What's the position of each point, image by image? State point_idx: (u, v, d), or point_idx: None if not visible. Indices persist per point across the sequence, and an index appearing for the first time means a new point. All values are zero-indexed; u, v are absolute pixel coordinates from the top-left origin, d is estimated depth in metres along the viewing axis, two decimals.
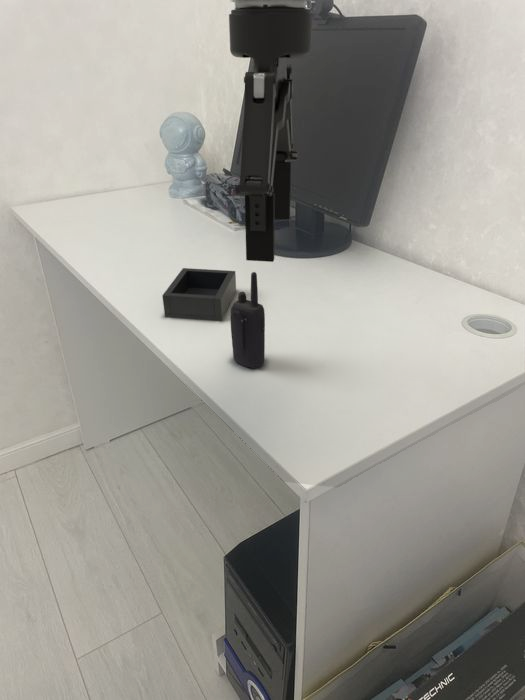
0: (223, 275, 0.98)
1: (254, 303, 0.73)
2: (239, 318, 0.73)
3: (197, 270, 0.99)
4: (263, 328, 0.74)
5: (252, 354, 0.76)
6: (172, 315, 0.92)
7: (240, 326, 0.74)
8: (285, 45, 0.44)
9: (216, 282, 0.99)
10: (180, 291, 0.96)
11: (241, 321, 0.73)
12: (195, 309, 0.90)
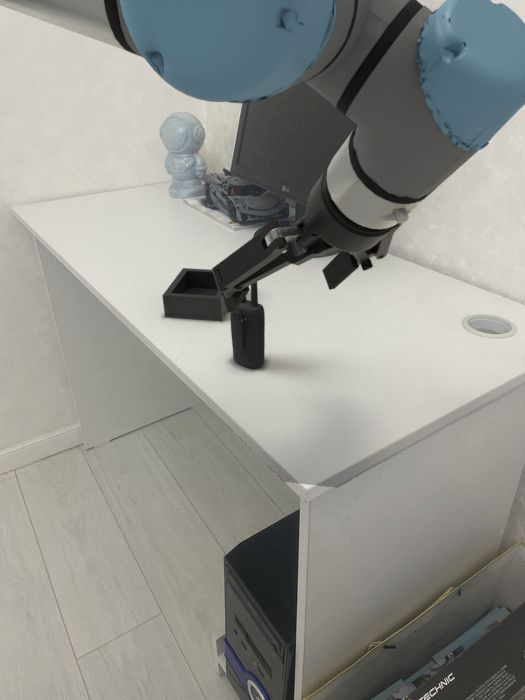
0: None
1: (254, 303, 0.73)
2: (239, 318, 0.73)
3: (197, 270, 0.99)
4: (263, 328, 0.74)
5: (252, 354, 0.76)
6: (172, 315, 0.92)
7: (240, 326, 0.74)
8: (323, 235, 0.44)
9: None
10: (180, 291, 0.96)
11: (241, 321, 0.73)
12: (195, 309, 0.90)
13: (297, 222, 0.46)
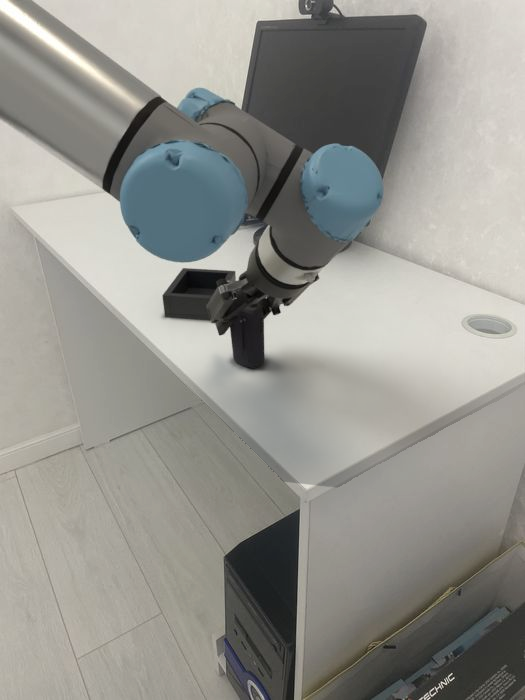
0: (223, 275, 0.98)
1: None
2: (238, 319, 0.72)
3: (197, 270, 0.99)
4: (262, 328, 0.74)
5: (252, 355, 0.76)
6: (172, 315, 0.92)
7: (239, 327, 0.74)
8: (259, 286, 0.59)
9: (216, 282, 0.99)
10: (180, 291, 0.96)
11: (240, 322, 0.73)
12: (195, 309, 0.90)
13: (241, 275, 0.61)
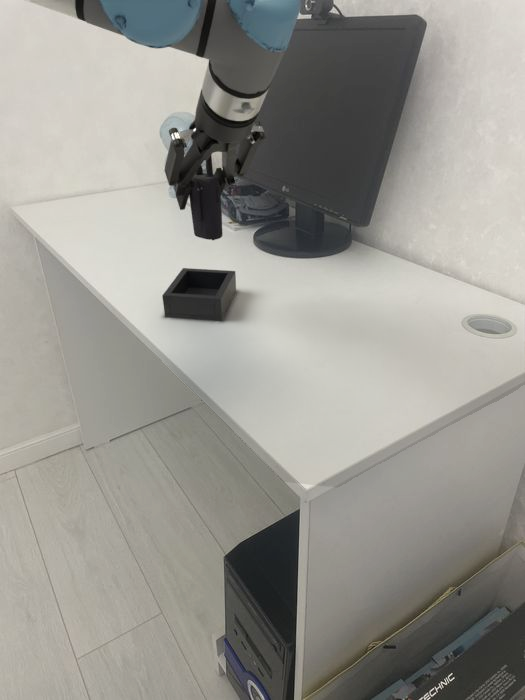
0: (223, 275, 0.98)
1: (209, 173, 0.79)
2: (195, 186, 0.78)
3: (197, 270, 0.99)
4: (218, 198, 0.80)
5: (210, 225, 0.82)
6: (172, 315, 0.92)
7: (196, 196, 0.80)
8: (205, 129, 0.65)
9: (216, 282, 0.99)
10: (180, 291, 0.96)
11: (197, 190, 0.79)
12: (195, 309, 0.90)
13: (191, 124, 0.67)
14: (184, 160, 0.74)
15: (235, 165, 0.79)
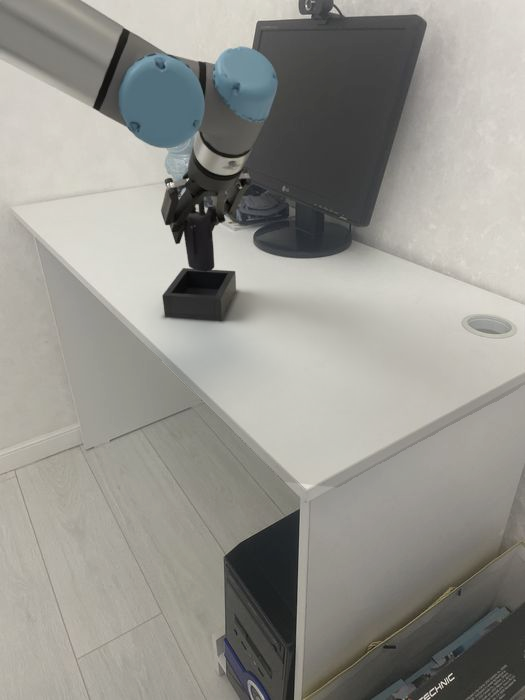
0: (223, 275, 0.98)
1: (201, 212, 0.87)
2: (189, 224, 0.86)
3: (197, 270, 0.99)
4: (210, 234, 0.88)
5: (203, 258, 0.90)
6: (172, 315, 0.92)
7: (190, 232, 0.88)
8: (197, 180, 0.73)
9: (216, 282, 0.99)
10: (180, 291, 0.96)
11: (191, 228, 0.87)
12: (195, 309, 0.90)
13: (184, 174, 0.75)
14: (178, 203, 0.82)
15: (225, 205, 0.87)
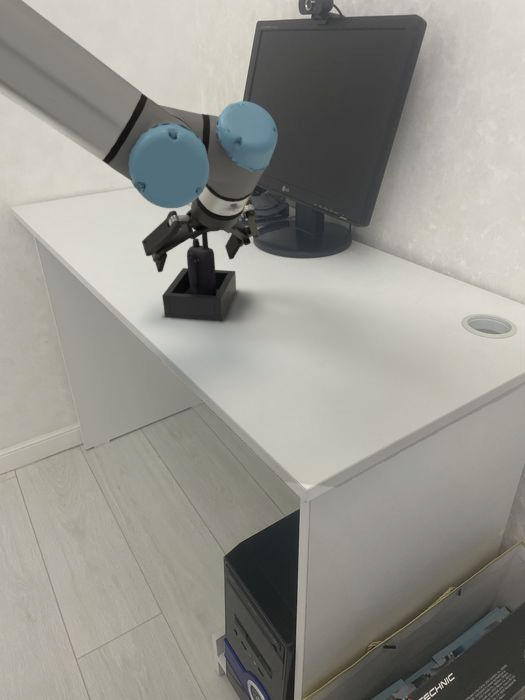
0: (223, 275, 0.98)
1: (205, 247, 0.90)
2: (192, 258, 0.90)
3: None
4: (213, 268, 0.92)
5: (205, 290, 0.93)
6: (172, 315, 0.92)
7: (194, 266, 0.91)
8: (199, 219, 0.76)
9: (216, 282, 0.99)
10: (180, 291, 0.96)
11: (194, 262, 0.90)
12: (195, 309, 0.90)
13: (187, 212, 0.78)
14: None
15: (249, 228, 0.90)
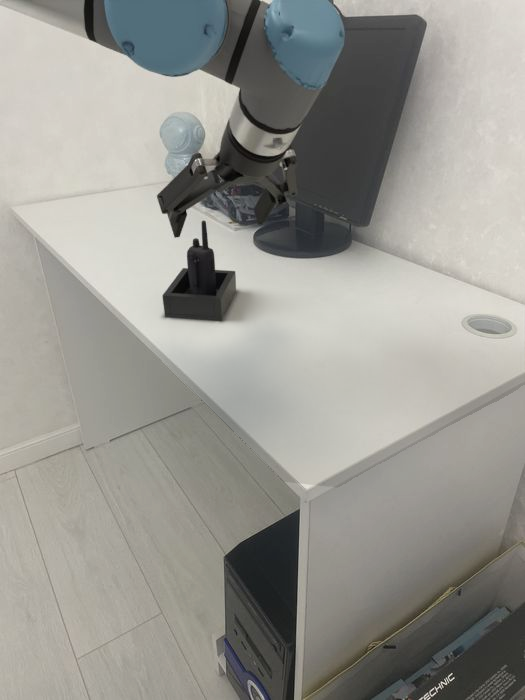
0: (223, 275, 0.98)
1: (205, 247, 0.90)
2: (192, 258, 0.90)
3: None
4: (213, 268, 0.92)
5: (205, 290, 0.93)
6: (172, 315, 0.92)
7: (194, 266, 0.91)
8: (231, 163, 0.60)
9: (216, 282, 0.99)
10: (180, 291, 0.96)
11: (194, 262, 0.90)
12: (195, 309, 0.90)
13: (215, 156, 0.63)
14: None
15: None
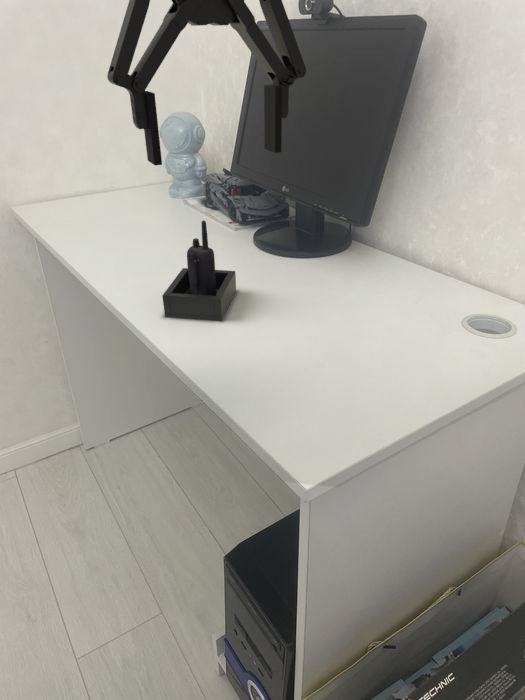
0: (223, 275, 0.98)
1: (205, 247, 0.90)
2: (192, 258, 0.90)
3: None
4: (213, 268, 0.92)
5: (205, 290, 0.93)
6: (172, 315, 0.92)
7: (194, 266, 0.91)
8: None
9: (216, 282, 0.99)
10: (180, 291, 0.96)
11: (194, 262, 0.90)
12: (195, 309, 0.90)
13: None
14: (146, 51, 0.49)
15: None
